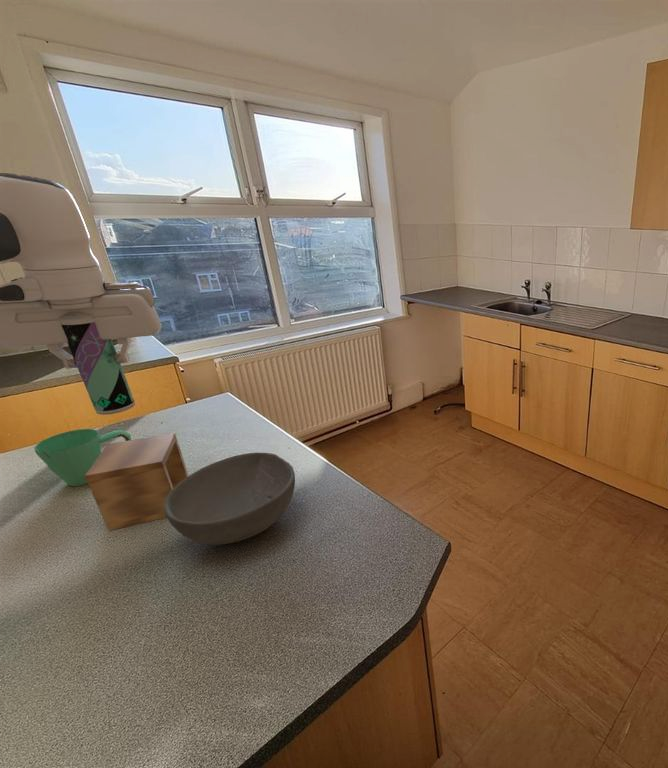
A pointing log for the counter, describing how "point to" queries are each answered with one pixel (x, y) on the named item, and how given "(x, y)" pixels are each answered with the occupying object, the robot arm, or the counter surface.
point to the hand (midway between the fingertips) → (98, 364)
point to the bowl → (231, 498)
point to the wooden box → (136, 479)
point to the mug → (74, 452)
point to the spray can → (97, 364)
